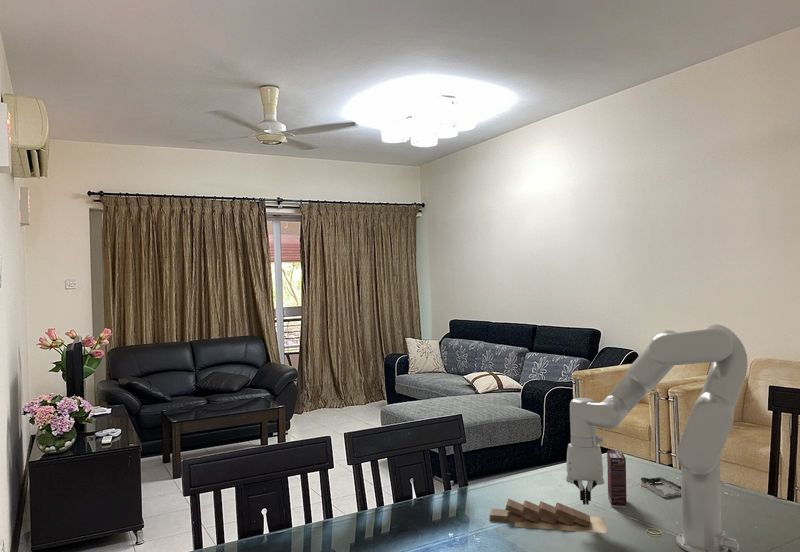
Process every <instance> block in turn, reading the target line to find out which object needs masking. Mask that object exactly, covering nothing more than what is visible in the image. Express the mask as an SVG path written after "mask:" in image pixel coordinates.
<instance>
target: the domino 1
mask: <svg viewBox="0 0 800 552" xmlns="http://www.w3.org/2000/svg"><path fill="white" fill-rule="evenodd" d="M505 509H506V508H505ZM505 509H504V508H503V509H502V508H490V513H489V521H497V522H508V523H509V522H510V523H515V522H522V523H523V522H524V517H522V516H520V515H517V514H515V513H512V512H510V511H508V510H505Z"/></svg>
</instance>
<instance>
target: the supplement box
mask: <svg viewBox="0 0 800 552" xmlns="http://www.w3.org/2000/svg"><path fill="white" fill-rule="evenodd" d="M606 453H607V455H606V456H607V458H606V459H607V498H608V502H609V503H610V507H611V508H623V509H624V508H626V509H627V507H628V506H627V504H628V503H627V463H626V461H627V460H626V457H625V455H624V453H623V451H622V450H616V449H615V450H613V449H611V450H610V449H609V450H607V451H606Z"/></svg>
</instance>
